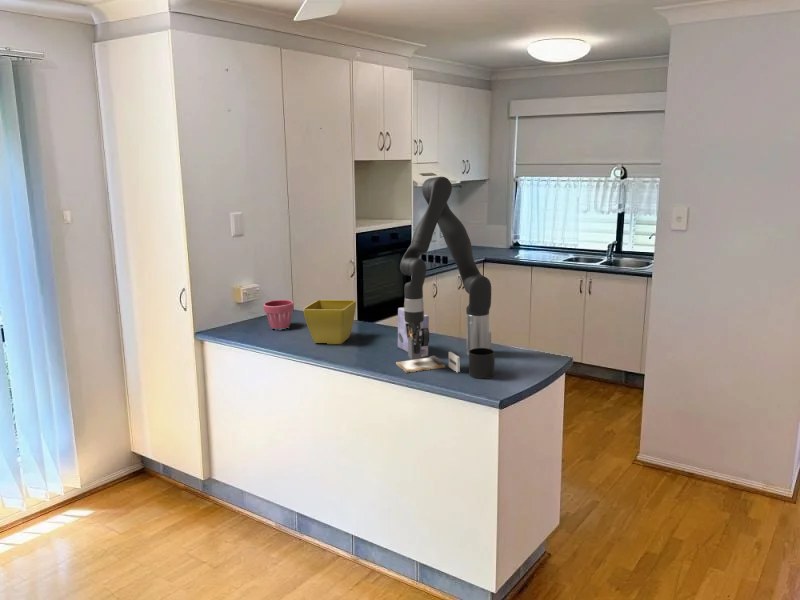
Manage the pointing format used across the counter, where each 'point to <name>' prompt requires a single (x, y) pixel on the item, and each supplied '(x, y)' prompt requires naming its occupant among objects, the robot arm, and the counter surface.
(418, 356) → the ball-topped gray post
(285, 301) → the plant pot
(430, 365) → the clipboard
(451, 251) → the robot arm
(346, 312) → the flower pot
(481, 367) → the mug
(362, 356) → the counter surface
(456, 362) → the block
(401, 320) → the cake pan box
